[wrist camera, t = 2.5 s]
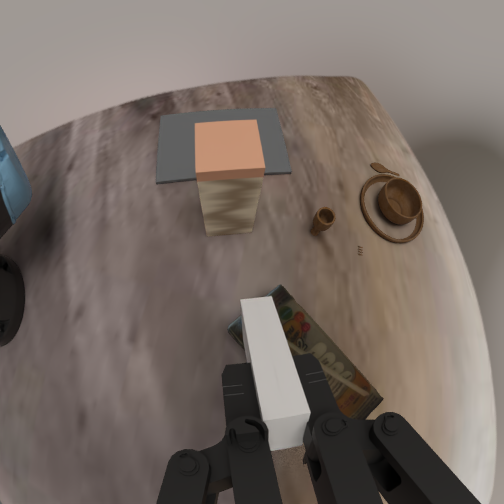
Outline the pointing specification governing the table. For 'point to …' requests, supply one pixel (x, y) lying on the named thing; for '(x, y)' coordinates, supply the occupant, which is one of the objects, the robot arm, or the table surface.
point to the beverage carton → (320, 356)
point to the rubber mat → (183, 125)
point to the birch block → (228, 174)
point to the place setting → (384, 205)
